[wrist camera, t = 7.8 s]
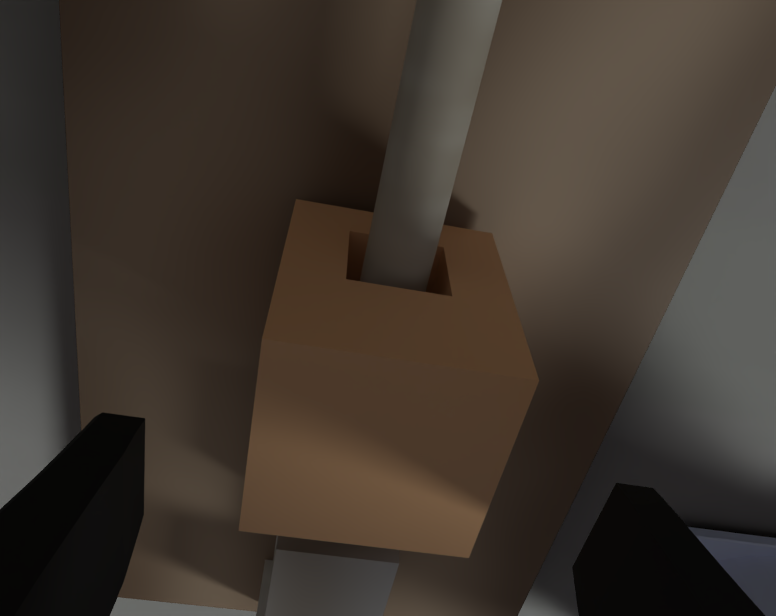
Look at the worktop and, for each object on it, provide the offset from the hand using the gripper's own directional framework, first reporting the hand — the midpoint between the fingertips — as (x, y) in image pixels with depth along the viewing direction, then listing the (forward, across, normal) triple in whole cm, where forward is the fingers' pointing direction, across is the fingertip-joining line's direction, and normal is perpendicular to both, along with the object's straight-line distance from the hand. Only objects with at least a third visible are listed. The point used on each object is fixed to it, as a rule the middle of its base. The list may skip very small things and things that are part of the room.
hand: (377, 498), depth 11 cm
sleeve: (+5, 0, 0) cm, 5 cm away
